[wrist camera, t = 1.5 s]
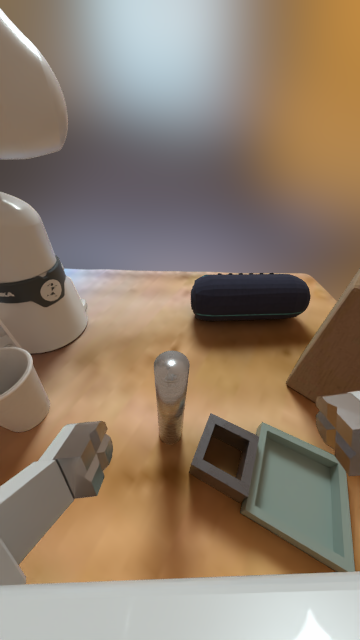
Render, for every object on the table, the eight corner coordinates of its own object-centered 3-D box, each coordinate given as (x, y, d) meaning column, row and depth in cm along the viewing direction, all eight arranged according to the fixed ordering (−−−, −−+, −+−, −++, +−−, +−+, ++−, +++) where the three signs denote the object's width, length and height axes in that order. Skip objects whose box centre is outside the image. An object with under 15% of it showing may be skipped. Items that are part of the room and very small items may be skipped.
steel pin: (154, 437, 29) (147, 371, 18) (166, 416, 31) (164, 346, 20) (175, 449, 28) (179, 386, 17) (185, 426, 30) (194, 358, 20)
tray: (240, 512, 24) (245, 509, 22) (256, 429, 30) (262, 422, 29) (340, 573, 21) (355, 576, 19) (334, 465, 27) (345, 460, 26)
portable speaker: (282, 300, 54) (298, 265, 48) (301, 327, 47) (324, 290, 40) (186, 302, 52) (189, 266, 46) (191, 331, 45) (195, 292, 38)
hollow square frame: (188, 472, 26) (191, 464, 24) (206, 425, 31) (210, 413, 28) (239, 502, 24) (247, 496, 22) (250, 447, 29) (259, 436, 26)
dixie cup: (-19, 446, 28) (-79, 412, 21) (12, 388, 34) (-27, 347, 27) (48, 439, 28) (11, 405, 22) (66, 384, 35) (42, 344, 28)
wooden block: (350, 425, 31) (486, 331, 18) (284, 384, 36) (353, 285, 23) (361, 382, 37) (471, 285, 24) (303, 351, 42) (367, 256, 28)
